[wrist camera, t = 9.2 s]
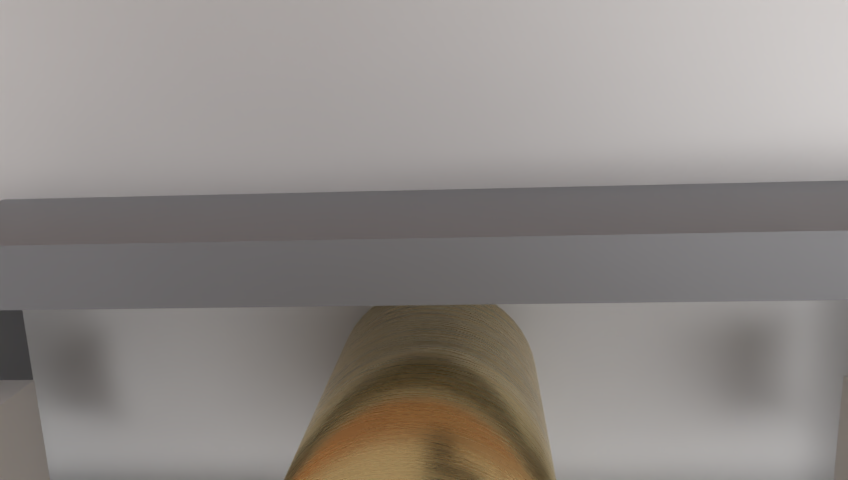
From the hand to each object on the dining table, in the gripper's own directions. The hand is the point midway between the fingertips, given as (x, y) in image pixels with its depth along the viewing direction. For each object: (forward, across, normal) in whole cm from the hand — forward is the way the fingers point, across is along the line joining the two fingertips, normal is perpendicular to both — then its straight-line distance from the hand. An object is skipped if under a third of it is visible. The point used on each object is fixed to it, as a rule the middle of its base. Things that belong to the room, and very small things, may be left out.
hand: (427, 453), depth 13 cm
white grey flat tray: (+4, 0, 0) cm, 4 cm away
